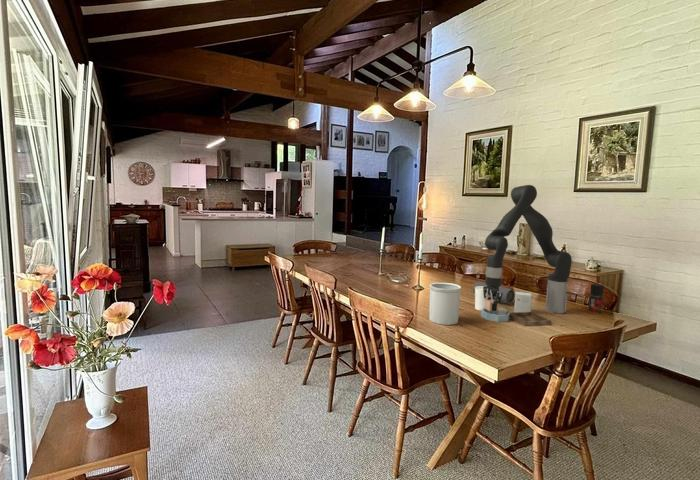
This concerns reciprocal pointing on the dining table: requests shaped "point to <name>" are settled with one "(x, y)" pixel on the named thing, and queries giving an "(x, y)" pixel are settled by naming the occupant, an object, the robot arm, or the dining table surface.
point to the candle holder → (479, 298)
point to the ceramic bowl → (494, 316)
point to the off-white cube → (500, 311)
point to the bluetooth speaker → (507, 293)
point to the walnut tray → (529, 319)
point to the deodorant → (596, 298)
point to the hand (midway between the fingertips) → (491, 309)
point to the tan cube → (489, 305)
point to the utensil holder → (444, 303)
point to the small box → (522, 302)
